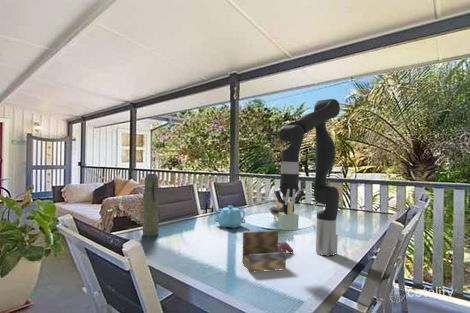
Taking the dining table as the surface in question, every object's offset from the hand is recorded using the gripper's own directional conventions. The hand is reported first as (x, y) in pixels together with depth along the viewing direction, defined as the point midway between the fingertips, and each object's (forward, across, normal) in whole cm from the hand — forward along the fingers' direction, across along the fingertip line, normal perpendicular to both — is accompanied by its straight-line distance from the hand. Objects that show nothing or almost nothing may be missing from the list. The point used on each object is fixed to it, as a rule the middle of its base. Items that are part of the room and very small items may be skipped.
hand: (288, 213), depth 128 cm
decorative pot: (+23, +4, -74) cm, 78 cm away
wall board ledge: (+24, +8, -4) cm, 26 cm away
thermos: (+24, +54, -65) cm, 88 cm away
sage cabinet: (+6, 0, 0) cm, 6 cm away
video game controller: (+24, -7, -17) cm, 30 cm away
